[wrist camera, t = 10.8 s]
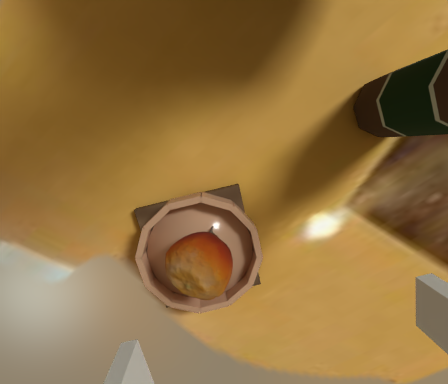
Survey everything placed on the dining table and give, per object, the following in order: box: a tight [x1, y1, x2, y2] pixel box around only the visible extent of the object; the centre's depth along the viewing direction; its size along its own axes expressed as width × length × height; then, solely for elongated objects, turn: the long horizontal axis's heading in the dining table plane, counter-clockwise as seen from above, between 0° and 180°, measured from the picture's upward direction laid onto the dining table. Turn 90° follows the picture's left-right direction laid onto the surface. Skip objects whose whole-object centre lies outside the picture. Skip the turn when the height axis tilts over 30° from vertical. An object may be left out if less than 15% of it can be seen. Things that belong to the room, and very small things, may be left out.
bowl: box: [135, 192, 263, 313], centre depth 30 cm, size 16×16×2 cm
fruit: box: [165, 226, 233, 300], centre depth 27 cm, size 8×8×8 cm
